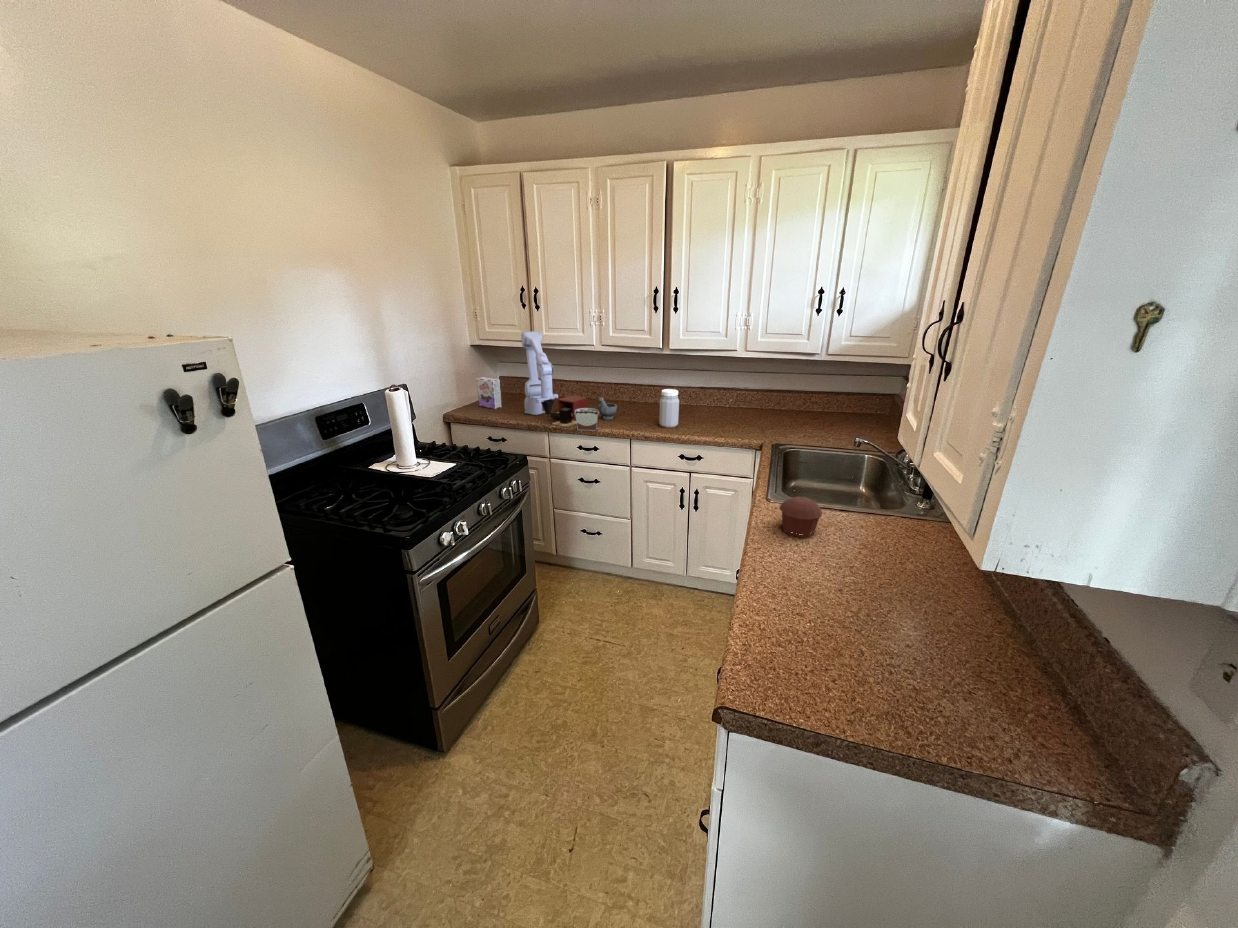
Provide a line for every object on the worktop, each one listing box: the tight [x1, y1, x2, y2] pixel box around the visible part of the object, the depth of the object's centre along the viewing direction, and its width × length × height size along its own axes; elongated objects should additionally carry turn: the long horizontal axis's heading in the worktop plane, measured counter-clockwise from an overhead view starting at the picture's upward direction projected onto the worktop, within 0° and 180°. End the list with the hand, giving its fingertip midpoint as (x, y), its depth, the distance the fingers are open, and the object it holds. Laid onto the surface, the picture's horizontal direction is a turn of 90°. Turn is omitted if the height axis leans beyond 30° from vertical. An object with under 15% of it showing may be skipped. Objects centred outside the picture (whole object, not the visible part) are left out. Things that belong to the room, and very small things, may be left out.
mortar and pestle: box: [598, 396, 618, 421], centre depth 254 cm, size 11×9×12 cm
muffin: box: [779, 496, 823, 539], centre depth 140 cm, size 12×11×10 cm
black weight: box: [559, 408, 573, 424], centre depth 245 cm, size 4×4×7 cm
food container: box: [574, 407, 600, 432], centre depth 236 cm, size 12×6×10 cm, turn 84°
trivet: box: [551, 419, 577, 428], centre depth 247 cm, size 10×10×1 cm
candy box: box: [475, 376, 503, 410], centre depth 276 cm, size 14×6×16 cm, turn 55°
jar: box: [658, 388, 680, 429], centre depth 240 cm, size 10×10×18 cm
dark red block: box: [557, 394, 588, 419], centre depth 262 cm, size 11×12×9 cm
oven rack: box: [549, 411, 573, 420], centre depth 256 cm, size 9×13×3 cm
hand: (548, 414), depth 246 cm, fingers closed
